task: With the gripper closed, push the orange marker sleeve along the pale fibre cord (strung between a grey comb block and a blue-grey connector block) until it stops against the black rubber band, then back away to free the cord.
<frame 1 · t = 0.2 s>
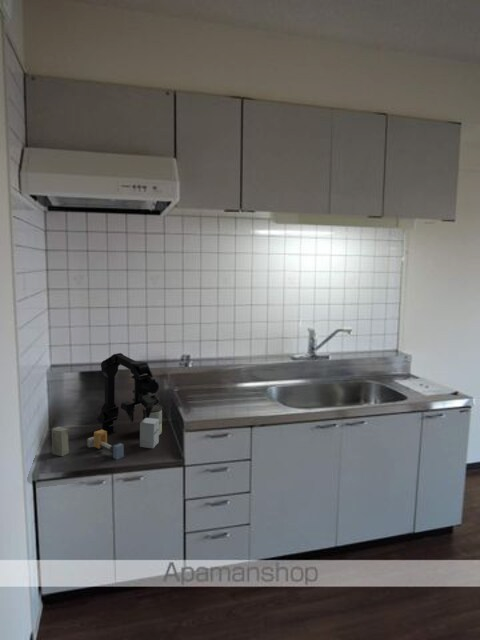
hand: (140, 419, 225), 14 cm above the worktop, fingers open, 9 cm apart
sleeve: (100, 438, 224), point 5 cm above the worktop, slide at -4.5 cm
cord rail: (106, 451, 222), on the worktop
supplement box: (149, 445, 231), on the worktop
skincare box: (60, 454, 218), on the worktop
coffee can: (152, 432, 246), on the worktop
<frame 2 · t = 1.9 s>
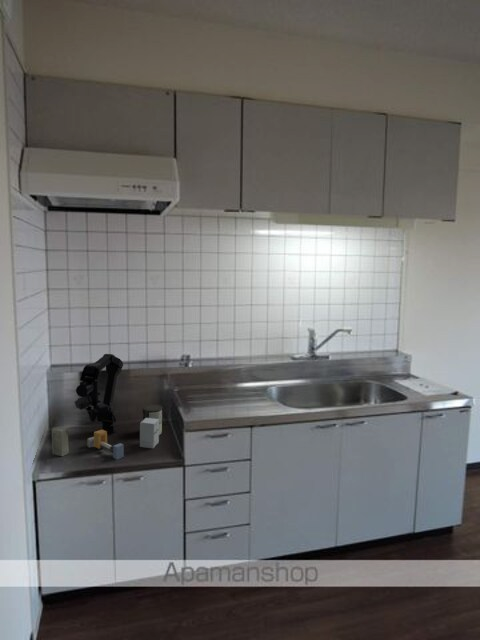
hand: (92, 421, 227), 12 cm above the worktop, fingers closed
nothing on the worktop moved.
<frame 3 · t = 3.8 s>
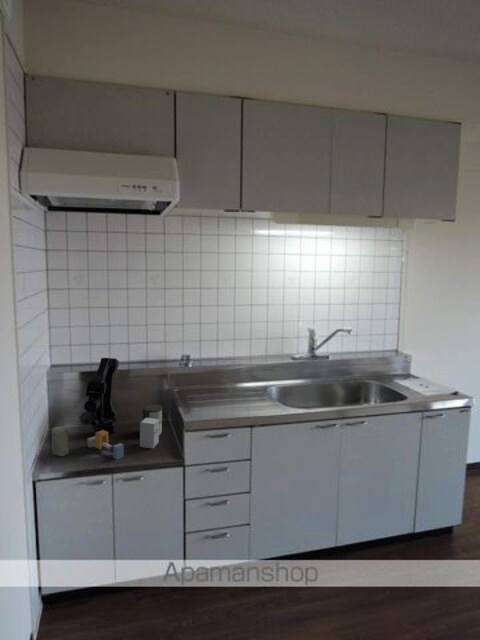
hand: (97, 436, 226), 6 cm above the worktop, fingers closed
sleeve: (101, 439, 223), point 5 cm above the worktop, slide at -3.4 cm, touching gripper
everything else where it was.
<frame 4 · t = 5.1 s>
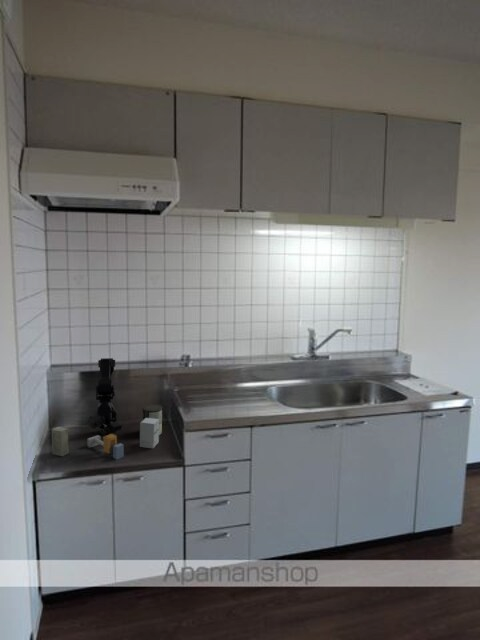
hand: (105, 439, 221), 6 cm above the worktop, fingers closed
sleeve: (110, 443, 219), point 5 cm above the worktop, slide at 3.3 cm, touching cord rail, gripper
everything else where it was.
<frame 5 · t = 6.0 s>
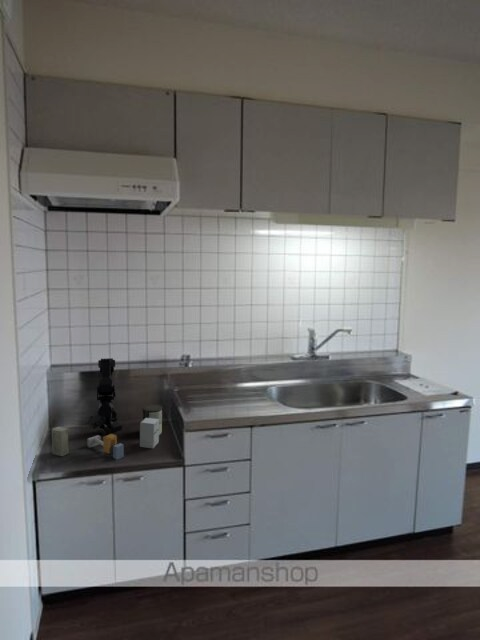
hand: (105, 439, 221), 6 cm above the worktop, fingers closed
nothing on the worktop moved.
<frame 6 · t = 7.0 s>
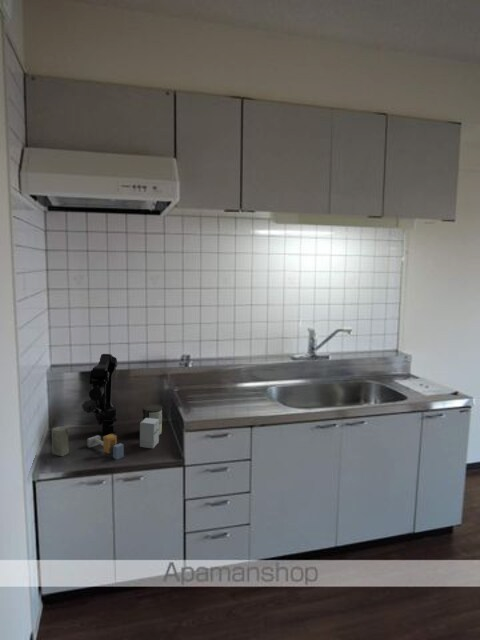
hand: (100, 424, 223), 12 cm above the worktop, fingers closed
sleeve: (110, 443, 219), point 5 cm above the worktop, slide at 3.3 cm, touching cord rail
everything else where it was.
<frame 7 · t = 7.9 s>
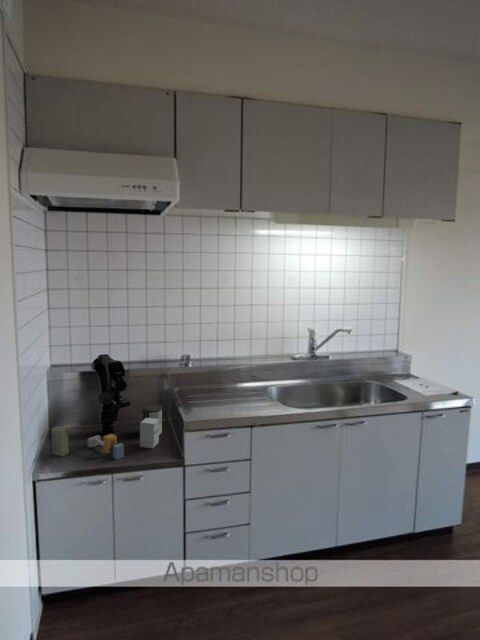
hand: (114, 416, 232), 13 cm above the worktop, fingers closed
nothing on the worktop moved.
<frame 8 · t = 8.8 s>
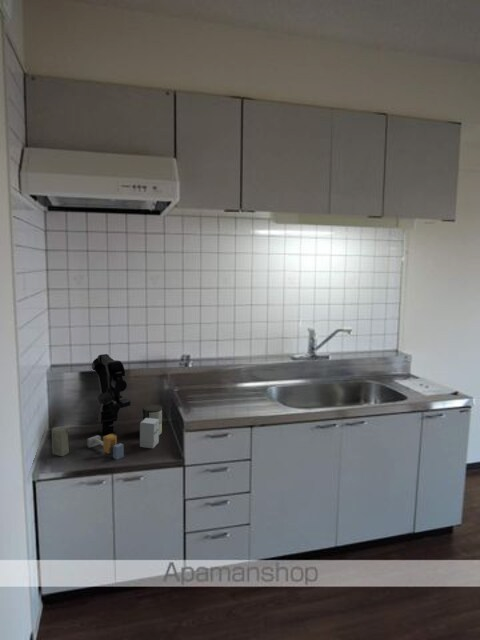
hand: (114, 416, 232), 13 cm above the worktop, fingers closed
nothing on the worktop moved.
at the end: sleeve slide at 3.3 cm; the gripper is holding nothing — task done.
